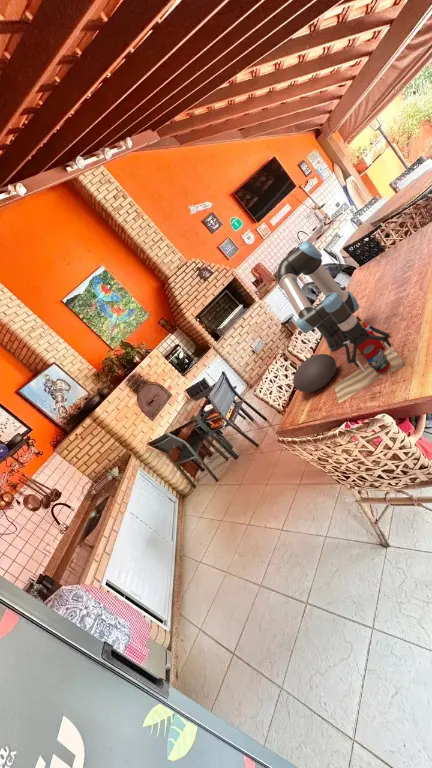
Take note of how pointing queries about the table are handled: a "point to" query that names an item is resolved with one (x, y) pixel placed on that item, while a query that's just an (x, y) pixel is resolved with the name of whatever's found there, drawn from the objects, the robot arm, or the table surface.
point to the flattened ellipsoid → (314, 373)
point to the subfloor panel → (365, 377)
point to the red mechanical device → (368, 341)
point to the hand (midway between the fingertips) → (378, 361)
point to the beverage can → (376, 358)
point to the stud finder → (382, 353)
